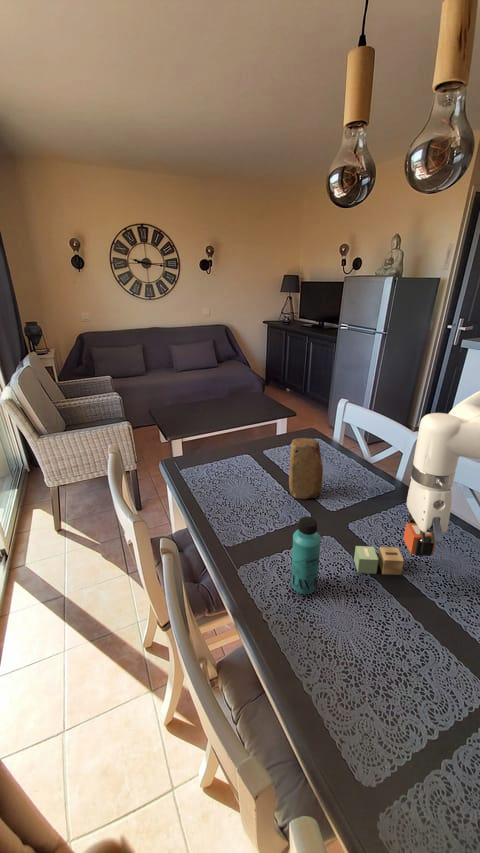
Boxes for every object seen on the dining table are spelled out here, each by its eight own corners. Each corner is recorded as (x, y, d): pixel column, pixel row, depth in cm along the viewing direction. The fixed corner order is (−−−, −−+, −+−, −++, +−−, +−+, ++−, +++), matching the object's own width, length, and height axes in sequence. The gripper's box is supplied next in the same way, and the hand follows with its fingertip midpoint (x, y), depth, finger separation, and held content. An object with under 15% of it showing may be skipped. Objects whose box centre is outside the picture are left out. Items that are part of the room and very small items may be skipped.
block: (288, 499, 120) (290, 445, 112) (288, 487, 127) (290, 435, 119) (321, 501, 119) (325, 447, 111) (320, 488, 125) (323, 436, 117)
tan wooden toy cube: (395, 561, 94) (398, 547, 92) (401, 575, 89) (404, 560, 88) (377, 560, 94) (379, 546, 92) (382, 574, 90) (384, 559, 88)
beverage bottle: (284, 587, 87) (286, 520, 79) (302, 573, 91) (306, 508, 83) (305, 604, 82) (309, 535, 74) (323, 589, 86) (329, 521, 78)
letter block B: (371, 560, 94) (374, 546, 92) (376, 573, 90) (378, 559, 88) (353, 559, 95) (355, 545, 93) (357, 573, 90) (359, 558, 89)
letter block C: (424, 539, 81) (427, 523, 79) (432, 554, 77) (436, 537, 75) (403, 539, 82) (406, 522, 80) (410, 554, 77) (414, 536, 75)
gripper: (474, 499, 64) (454, 576, 71) (433, 454, 79) (420, 521, 87) (430, 499, 65) (414, 575, 72) (398, 454, 80) (388, 521, 87)
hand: (418, 545), depth 79 cm, fingers closed on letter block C, 4 cm apart
